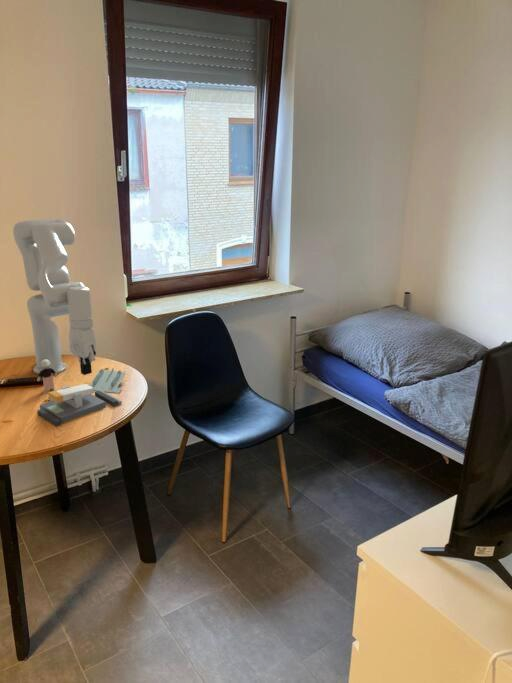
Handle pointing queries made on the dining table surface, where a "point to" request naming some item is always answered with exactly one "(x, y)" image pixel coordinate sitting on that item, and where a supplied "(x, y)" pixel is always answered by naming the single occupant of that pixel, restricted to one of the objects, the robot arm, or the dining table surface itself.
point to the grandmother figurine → (47, 376)
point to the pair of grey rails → (98, 394)
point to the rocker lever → (70, 393)
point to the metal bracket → (108, 381)
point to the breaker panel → (73, 406)
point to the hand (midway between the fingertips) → (86, 373)
